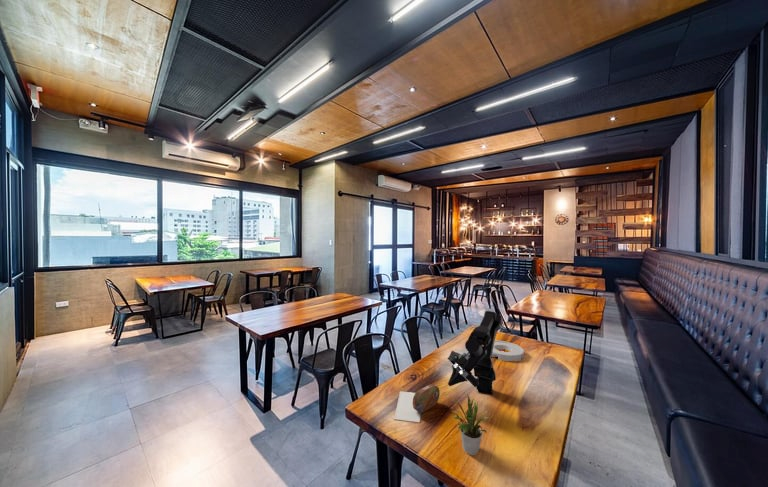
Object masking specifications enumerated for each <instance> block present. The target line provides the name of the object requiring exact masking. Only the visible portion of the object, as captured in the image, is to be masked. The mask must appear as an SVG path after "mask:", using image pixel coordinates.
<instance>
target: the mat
mask: <svg viewBox="0 0 768 487" xmlns="http://www.w3.org/2000/svg"><path fill="white" fill-rule="evenodd" d="M415 393H416V392H410V391H401V390H400V391H399V396H398V399H397V405H396V409H395V414H394V418H393V420H395V421H401V422H409V423H419V424H420V423H421V413H419V412H418V411H416V410H415V409H414V408H413V397H414V395H415Z"/></svg>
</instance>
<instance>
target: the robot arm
mask: <svg viewBox="0 0 768 487" xmlns="http://www.w3.org/2000/svg"><path fill="white" fill-rule="evenodd" d="M503 324H504V318H503V316H502V315H501V314H499V313H497V312H495V311H492V310H491V311H490V310H485V311H484V315H483V318H482V319H481V322H480V324H479V325H478V326H476V327H474V328H473V330H472V331H471V332H470V335H469V336H468V338H467V340H466V342H465V344H464V346H465V349H466V351H467V353H466V352H464V353H462V354H460V353H459V352H457V351H454V350H451V351H450V354H449V356H448V357H447V360H448V361H449V362H450V363H451V368H452V372H451V374H450V377H449V380H448V382H447V385H448V386H449V387H451V386H454V385H457V384H460V383H463V382H469V383H470V384H471V385H472V386H473V387H474V388H475V389H476V390H477V392H478V393H479V394H487V395H493V394H494V392H493V382H494V381H497V379H496V378H497V376H496V375H497V374H496V371H495V368H494V364H493V362H492V358H491V357H492V352H493V347H494V341H496V336H497V335H496V334H497V332H498V331H500V330H501V327H502V325H503ZM483 345H484V346H483ZM472 371H473V373H472ZM478 393H477V394H478Z"/></svg>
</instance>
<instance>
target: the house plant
mask: <svg viewBox="0 0 768 487" xmlns="http://www.w3.org/2000/svg"><path fill="white" fill-rule="evenodd" d="M451 401H454V402H455V403H456V404H457V405H458V406H459V408H460V410H461V411H459V410H452V411H451V412H452V413H454V415H456V416H454V417H453V418H452V420H459V421H460V422H461V423H458V424H456V426H458V429H457V430H458V431H459V430H460V436H461V437H460V438H461V443H462V449H463V451H464V452H465V453H466V454H469V455H472V456H476V455H478V454H479V452H480V447H481V442H482V438H483V432H484V433H486V434H488V432H487V430H486V429H482V428H483V427H482V426H481V425H480V423H481V422H482V421H484V420H488V419H490V417H488V416H486V417H483V416H484V415H485V414H486V412H487V411H488V409H487V410H486V411H485V412H483V414H482V415H481V416H480V417H479V418H478V419H477V417H478V416H477V415H478V410H479V403H478V402H477V401H475V399H472V400H471V398H470V395H469V393H468V392H467V409H466V411H464V408H463V406H462V405H461V404H460V403H459V402H457V400H454V399H451ZM473 404H474V405H473ZM462 413H463V414H462ZM460 416H461V417H460ZM476 420H477V421H476Z"/></svg>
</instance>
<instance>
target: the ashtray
mask: <svg viewBox="0 0 768 487" xmlns="http://www.w3.org/2000/svg"><path fill="white" fill-rule="evenodd" d="M482 346H484V345H482ZM497 349H505V350H508V351H510V352H504V351H499V350H497ZM524 356H525V349H523V347H521V346H520V345H518V344H516V343H513V342H510V341H509V342H508V341H504V340H495V341H494V347H493V352H492V357H498V358H497V360H498V361H501V360H503V362H508V361H516V362H520V361H522V359H524Z"/></svg>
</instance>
